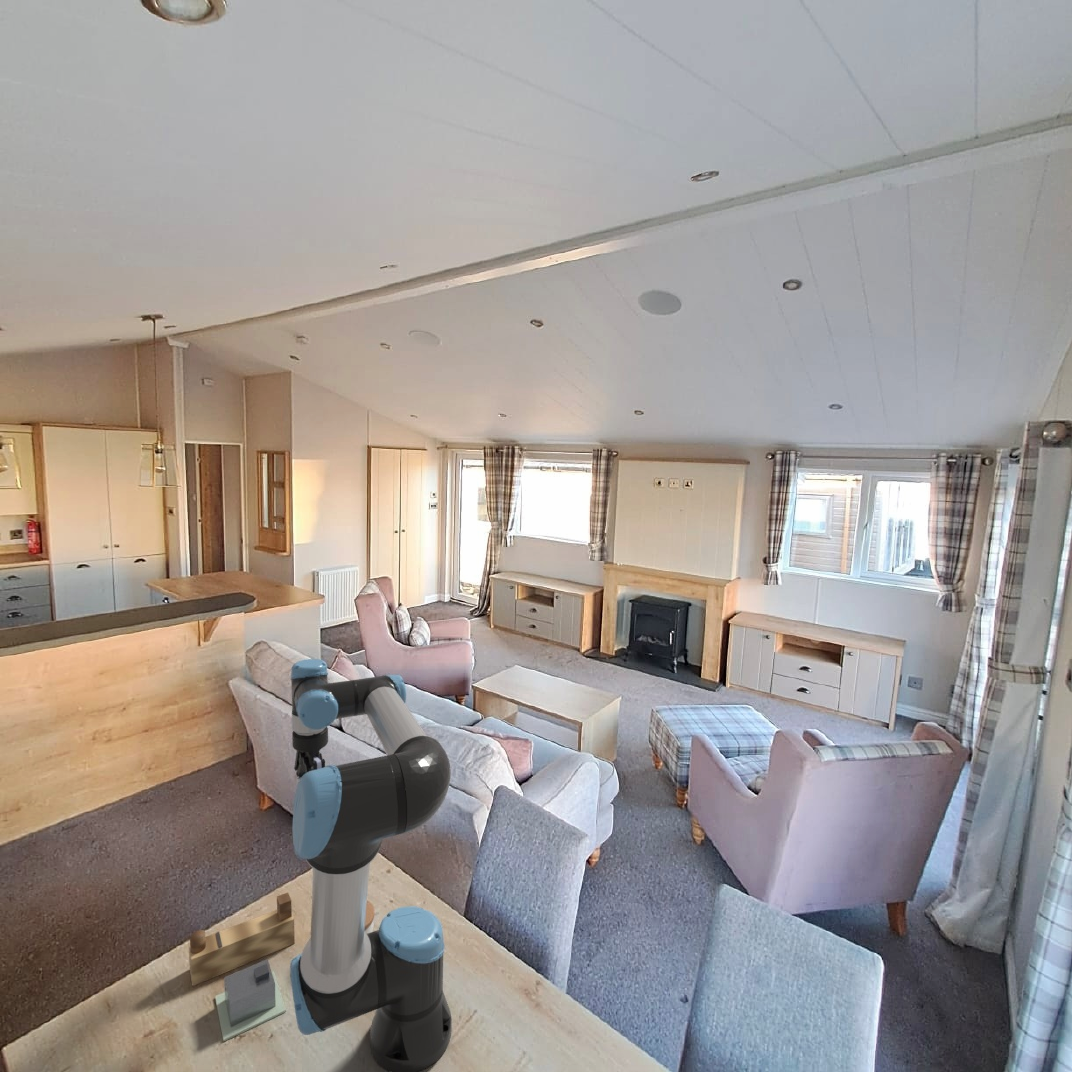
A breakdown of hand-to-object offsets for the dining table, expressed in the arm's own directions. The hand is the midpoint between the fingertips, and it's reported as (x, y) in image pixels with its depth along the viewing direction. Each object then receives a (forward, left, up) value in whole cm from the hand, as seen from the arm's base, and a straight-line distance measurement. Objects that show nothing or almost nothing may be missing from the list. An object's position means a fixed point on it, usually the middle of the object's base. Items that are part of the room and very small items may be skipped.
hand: (311, 817), depth 136 cm
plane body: (-1, +15, -27) cm, 31 cm away
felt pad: (-15, +16, -27) cm, 34 cm away
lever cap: (-15, +16, -26) cm, 34 cm away
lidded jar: (-11, -5, -27) cm, 30 cm away
